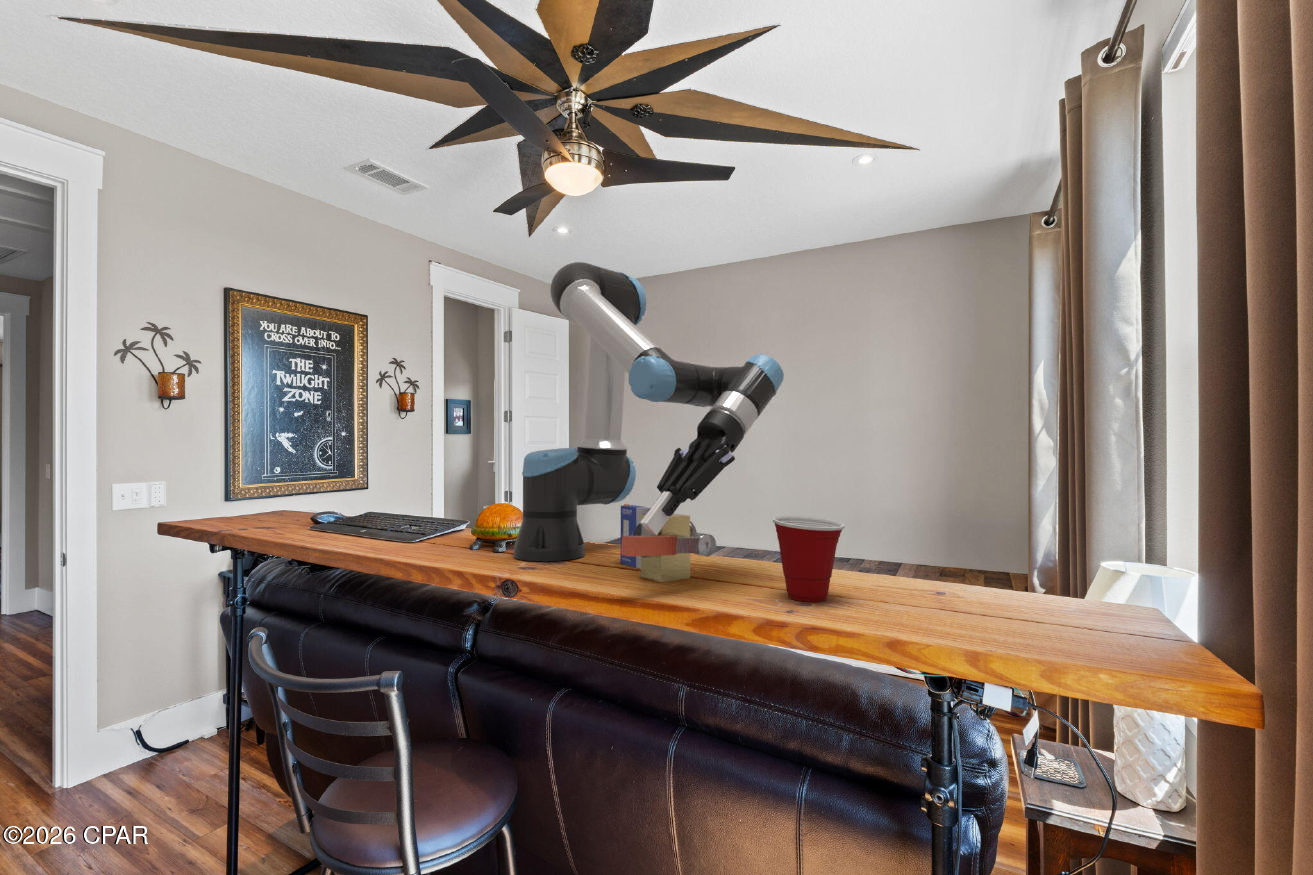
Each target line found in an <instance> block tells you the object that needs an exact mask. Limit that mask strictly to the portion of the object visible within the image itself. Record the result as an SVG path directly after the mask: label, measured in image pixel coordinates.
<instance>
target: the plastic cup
mask: <svg viewBox="0 0 1313 875" xmlns="http://www.w3.org/2000/svg"><path fill="white" fill-rule="evenodd" d="M772 522H773V524H774V527H775V531H776V535H777V541H778V547H779V552H780V560H781V566H782V573H783V576H784V582H785V588H786V594H787V596H788V598H789V599H791V600H794V601H797V602H804V603H817V602H819V603H820V602H824V601H826V600H827V599H828V595H829V591H830V590H829V589H830V584H831V583H830V582H831V578H832V577H833V576H832V574H833V569H834V563H835V559H836V558H835V557H836V552H837V546H838V543H839V538H840V537H841V533H842V531H843V529H845V528H846V524H844V523H843V522H839V521H836V520H832V519H827V518H821V517H813V516H802V515H779V516H778V515H777V516H774V517H772Z"/></svg>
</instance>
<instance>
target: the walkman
mask: <svg viewBox="0 0 1313 875" xmlns="http://www.w3.org/2000/svg"><path fill="white" fill-rule="evenodd" d="M651 508H652V506H651V507H649V506H643V505H642V506H641V505H635V504H634V505H633V504H629V503H625V504H623V505H620V548H621V547H622V536H633V535H634V531H635V528H636V526H637V525H638V524H640V522H641V515H646V514H647V513H648V512H649V510H650V509H651ZM619 552H620V557H619V558H620V564H623V565H626V566H629V567H633V568H636V569H639V570H641V556H630V557H628V556H624V555H621V550H620V551H619Z"/></svg>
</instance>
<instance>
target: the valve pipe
mask: <svg viewBox="0 0 1313 875" xmlns="http://www.w3.org/2000/svg"><path fill="white" fill-rule="evenodd" d="M645 516H646V515H641V521H642V520H643V518H644V517H645ZM696 533H698V531H697V529H696V526H695V524H694V523H693V522H692V521H691V515H687V514H686V515H685V514H678V513H673V514H672V515H671V516H670V518H669V519H668V520H667V522H666V523H665V524H664V526H663V527H662V529H661V530H660V531H659V533H658V534H657V535H652V534H650V533H649V532H648V531H647V530H646V529H645V528H644V526H643V525H642V524H641V523H640V524H638V525H637V526H636V528H635V531H634V535H633V536H675V537H693V535H694V534H696ZM640 577H641V578H644V579H646V580H650V581H655V582H657V583H668V582H673V581H674V582H675V581H680V580H686V579H687V580H689V579H691V553H678V554H676V555H660V556H641V569H640Z"/></svg>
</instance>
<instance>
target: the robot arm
mask: <svg viewBox="0 0 1313 875" xmlns="http://www.w3.org/2000/svg"><path fill="white" fill-rule="evenodd" d="M549 289H550V297H551V301H552V303H553V306H555V308H556V310H557V311H558V312H559V313H560V314H561V315H562V316H563V317H564V318H565V319H566V320H568V321H569V322H572V323H577V324H578V325H579V326H580V327H581V328H582V330H583V331H585V332H586V333H587V334H588V335H589V337H590V338H589V354H588V370H587V371H588V372H587V390H586V403H585V404H586V406H585V420H584V422H585V424H584V437H583V439H582V441H580V442H579V443H578V444H577V446H576V448H575V447H562V448H551V449H549V448H548V449H542V450H535V451H530V452H529V453H527V454H526V455H525V456H524V459H523V466H522V473H521V475H522V522H521V524H520V527H519V530H518V534H517V537H516V540H515V542H514V545H513V558H514V559H517V560H520V561H521V560H522V561H527V562H528V561H529V562H557V561H558V562H560V561H570V560H575V559H576V560H577V559H579V558H582V557H584V556H585V554H586V552H585V551H586V547H585V546H586V544H585V542H584V538H583V536H582V532H581V528H580V525H579V522H578V506H586V505H588V506H589V505H610V504H614V503H615V504H616V503H620V502H622V501H623V500H625V499H626V498H627V497H628V496H629V495H630V494H631V492H632V490H633V488H634V486H635V483H636V479H637V477H636V475H637V473H636V472H637V471H636V470H637V469H636V466H635V464H634V461H633V460H632V458H631V457H630V456H628V455H627V454H628V447H627V446H626V444H624V442H623V441H622V432H623V431H622V429H623V412H624V399H625V398H624V396H625V381H626V373H627V374H628V384H629V386H630V391H631V392H632V393H633V395H634V396H635V397H637V398H639V399H641V400H647V401H649V402H654V403H673V404H681V405H690V406H695V407H701V408H707V407H710V409H709V411H708V412H707V413H705V415H704V417H703V418H702V419H701V421H700V422H699V423H698V424H697V428H696V432H697V436H696V438H695V439H694V440H693V441H691V442H690V443H689V446H688V447H687V448H685V449H682V448H681V447H677V448H676V449H675V450H674V453H673V457H672V459H671V460H670V462H669V464H668V466H667V468H666V470H665V471H664V473H663V474H662V476H661V479H660V480H659V482H658V484H657V485H656V489H657V490H658V491H659V492H660V495H659V497H658V498H657V499H656V500H655V502H654V503H653V504H652V506H651V507H652V508H651V509H650V510H649V512H648V513H647V514H646V516H645V517H644V518H643V520H642V521H641V522H640V523H641V524H642V525H643V526H644V528H645V529H646V530H647V531H648V532H649V533H650V534H652V535H657V534H658V533H659V531H660V530H661V529H662V527H663V526H664V524H665V523H666V522H667V520H668V519H669V518H670V516H671V515H672V514H675V512H676V510H678V508H679V506H680V505H681V504H683V503H685V502H687V500H690V501H694V500H695V499H697V498H698V497H699V495H701V494H702V492H703V491H704V490H705V489H706V488H707V487H708V486H709V485H710V484H711V483H712V482H713V480H715V478H716V477H717V476H718V475H719V474H720V473H722V471H723V470H724V469H725V468H726V467H728V466H729V465H730V464H732V463H733V462H734V461H735V460H736V457H735V456H734V454H733V452H735V450H736V449H737V448H738V446H739V445H740V444H741V442H742V441H743V439H744V437H745V436H746V434H747V433H748V432H749V430H750V429H751V428H752V426H753V425H754V423H755V422H756V420H758V418H759V416H760V415H761V414H762V413H763V411H764V410H765V409H766V408H767V405H768V404H770V401H771V400H772V399H773V398H774V397H775V396H776V394H777V392H778V391H779V388H780V387H781V386H782V384H783V381H784V379H785V378H784V377H785V375H784V371H783V369H782V366H781V365H780V363H779V362H778V361H777V360H776V359H774V357H771V356H770V355H767V354H763V353H757V354H755V355H753V356H751V357H750V358H749V359H748V360H746V362H745V363H744V364H743V365H742V366H728V367H727V366H719V367H718V366H709V365H708V366H707V365H701V364H696V363H692V362H691V363H690V362H686V361H685V362H684V361H681V360H680V361H679V360H675V359H673V358H672V357H671V356H669V355H668V354H667V353H666V352H665V351H664V350H662V348H661V347H660V346H658V345H657V344H656V343H655V342H654V341H653V340H652V339H650V338H649V337H648V335H647V334H645V333H644V332H643V331H642V330H641V329H640V328H638V325H639V324H640V323H641V321H642V320H643V317H644V316H645V313H646V311H647V295H646V292H645V289H644V287H643V286H642V284H641V282H639V280H638V279H636V278H635V277H633V276H631V275H628V274H626V273H624V272H622V271H615V270H611V269H608V268H605V267H602V266H601V267H600V266H598V265H593V264H591V263H587V262H582V261H581V262H580V261H579V262H578V261H576V262H571V263H569V264H566V265H564V266H563V267H561V268H559V269H558V271H557V272H556V273H555V274H554V276H553V278H552V280H551V283H550V288H549Z"/></svg>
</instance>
